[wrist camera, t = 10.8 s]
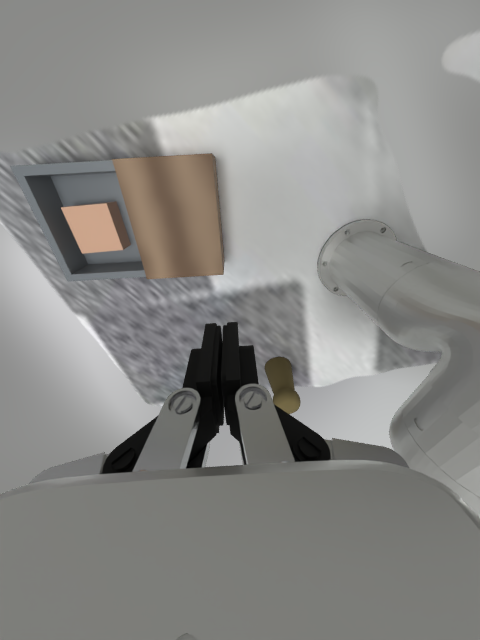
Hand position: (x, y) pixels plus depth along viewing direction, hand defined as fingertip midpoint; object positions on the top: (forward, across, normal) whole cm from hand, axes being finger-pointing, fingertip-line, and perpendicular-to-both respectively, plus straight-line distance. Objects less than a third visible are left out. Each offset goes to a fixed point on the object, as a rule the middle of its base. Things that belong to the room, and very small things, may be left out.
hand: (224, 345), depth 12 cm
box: (+27, +18, -3) cm, 33 cm away
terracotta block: (+24, +18, -3) cm, 30 cm away
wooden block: (+27, +6, -3) cm, 28 cm away
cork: (+27, -9, +29) cm, 41 cm away
